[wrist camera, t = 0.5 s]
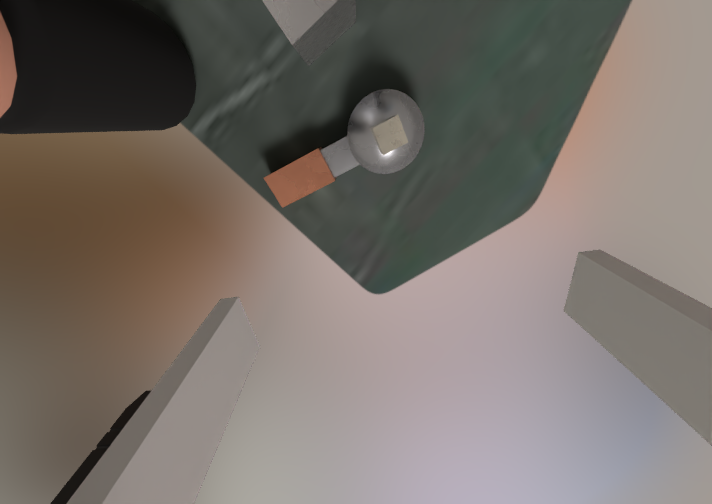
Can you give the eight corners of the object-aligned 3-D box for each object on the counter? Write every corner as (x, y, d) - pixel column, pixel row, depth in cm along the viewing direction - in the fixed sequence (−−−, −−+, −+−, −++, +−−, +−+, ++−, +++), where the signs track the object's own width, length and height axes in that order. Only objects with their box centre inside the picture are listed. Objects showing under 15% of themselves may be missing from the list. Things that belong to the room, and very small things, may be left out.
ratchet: (402, 77, 28) (416, 63, 21) (427, 150, 31) (446, 156, 24) (260, 157, 31) (236, 165, 25) (296, 215, 34) (283, 236, 28)
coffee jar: (71, 14, 25) (-437, -184, 9) (178, -1, 25) (-153, -235, 9) (124, 134, 30) (-148, 146, 14) (215, 124, 29) (46, 124, 13)
